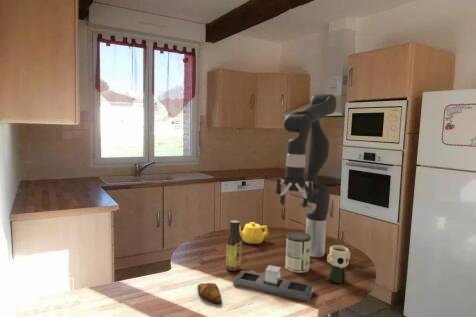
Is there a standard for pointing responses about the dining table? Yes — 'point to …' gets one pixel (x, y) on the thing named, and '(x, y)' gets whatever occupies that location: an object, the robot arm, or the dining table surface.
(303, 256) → the coffee can
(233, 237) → the sauce bottle
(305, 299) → the tray
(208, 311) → the dining table surface
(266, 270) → the white rectangular block
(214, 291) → the croissant
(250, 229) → the teapot
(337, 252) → the character mug
